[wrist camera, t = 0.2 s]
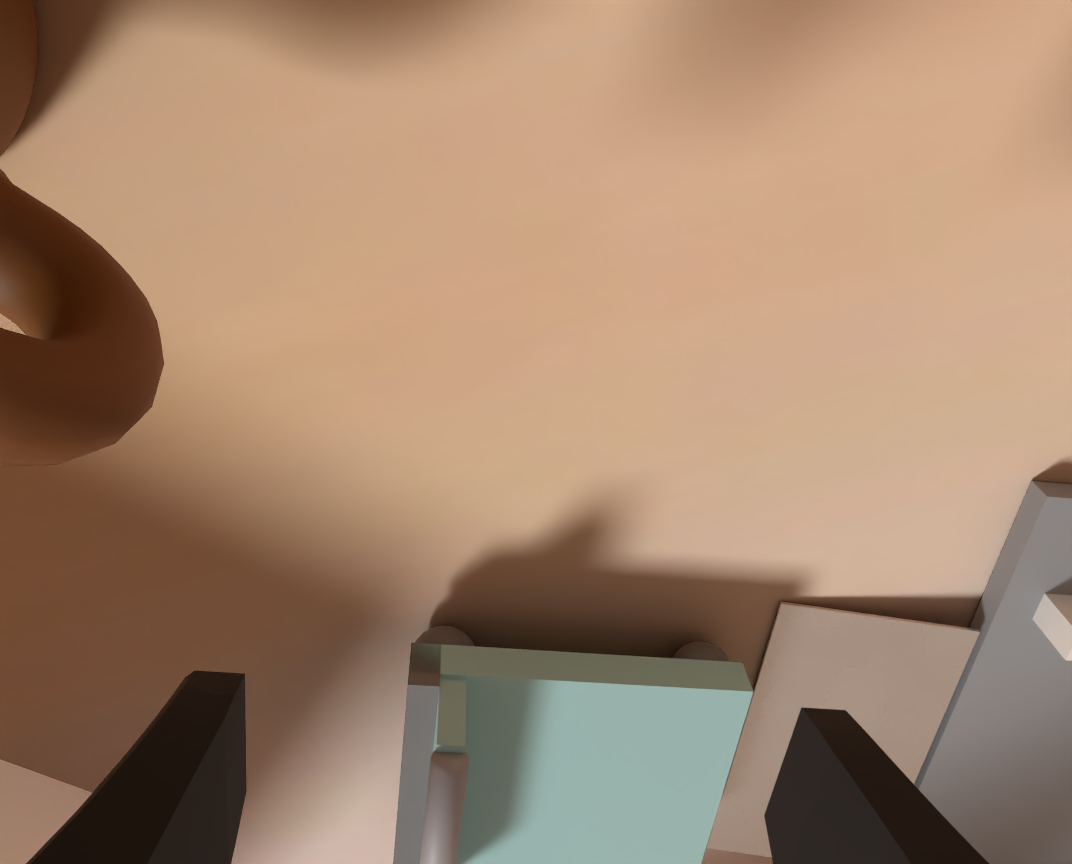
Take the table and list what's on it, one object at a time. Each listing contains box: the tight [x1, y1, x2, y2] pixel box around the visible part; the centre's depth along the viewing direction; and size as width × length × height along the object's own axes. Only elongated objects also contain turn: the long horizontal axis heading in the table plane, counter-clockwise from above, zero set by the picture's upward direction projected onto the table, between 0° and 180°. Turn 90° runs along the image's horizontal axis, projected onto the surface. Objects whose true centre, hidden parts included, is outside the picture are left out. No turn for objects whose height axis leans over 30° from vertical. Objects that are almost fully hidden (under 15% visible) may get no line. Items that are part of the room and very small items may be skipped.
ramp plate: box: [707, 602, 980, 858], centre depth 26 cm, size 9×5×1 cm, turn 173°
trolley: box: [393, 626, 753, 864], centre depth 23 cm, size 7×8×5 cm
